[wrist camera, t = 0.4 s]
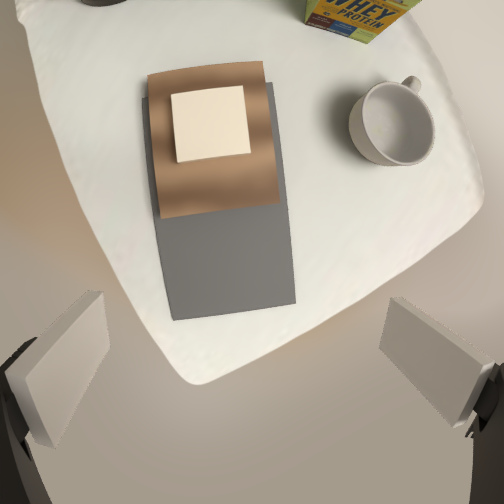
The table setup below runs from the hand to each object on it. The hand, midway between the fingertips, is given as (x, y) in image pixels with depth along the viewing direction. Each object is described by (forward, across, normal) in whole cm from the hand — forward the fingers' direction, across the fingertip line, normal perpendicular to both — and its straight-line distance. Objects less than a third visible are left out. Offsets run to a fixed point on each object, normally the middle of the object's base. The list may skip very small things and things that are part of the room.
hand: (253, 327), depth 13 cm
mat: (+27, -1, +4) cm, 27 cm away
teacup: (+27, +20, +17) cm, 38 cm away
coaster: (+23, -3, +13) cm, 27 cm away
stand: (+27, -3, +12) cm, 29 cm away
